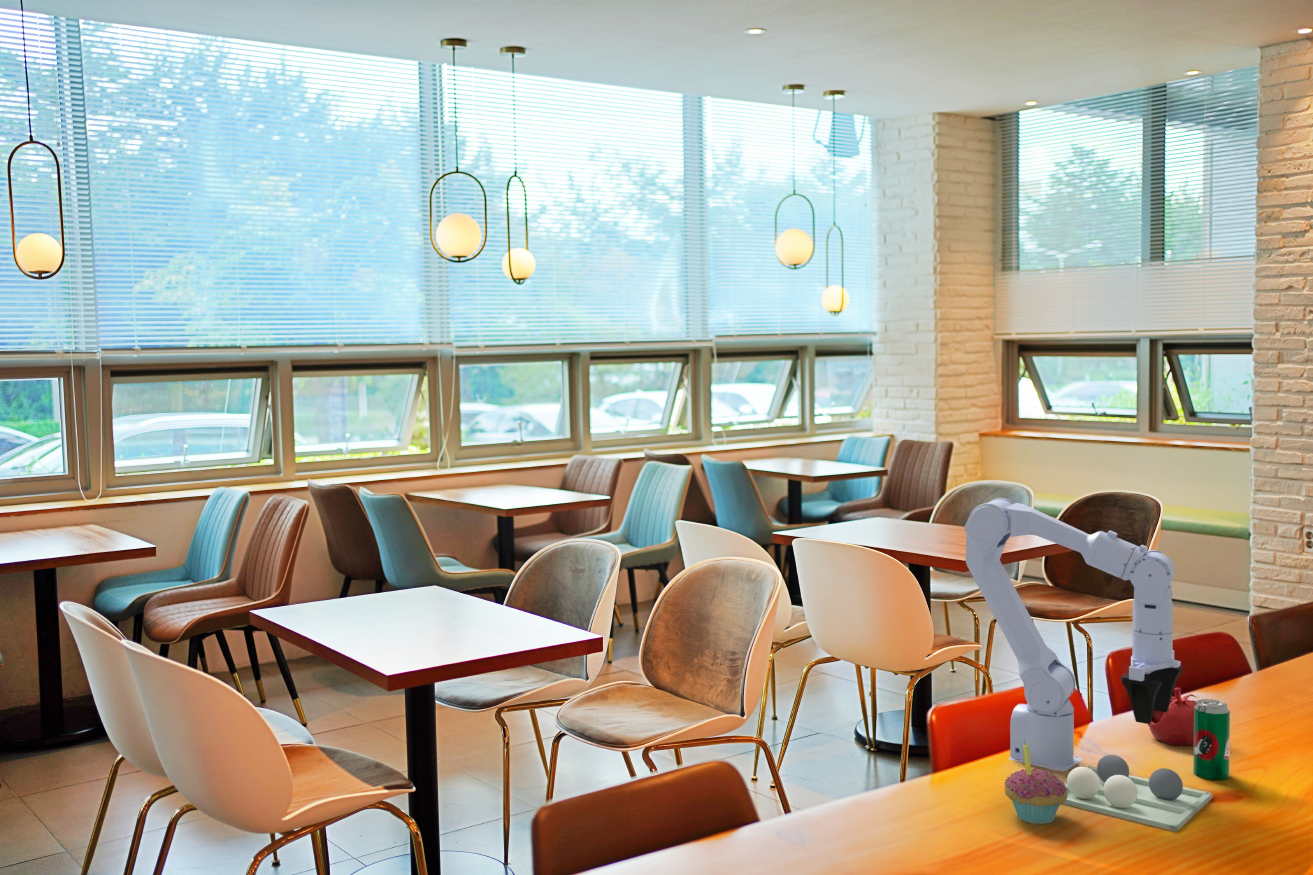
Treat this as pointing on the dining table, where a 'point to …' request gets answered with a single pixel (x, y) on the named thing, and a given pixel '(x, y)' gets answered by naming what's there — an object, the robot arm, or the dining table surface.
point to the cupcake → (1035, 793)
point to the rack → (1146, 805)
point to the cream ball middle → (1120, 791)
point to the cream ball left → (1083, 782)
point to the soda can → (1211, 740)
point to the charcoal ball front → (1165, 784)
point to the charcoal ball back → (1112, 767)
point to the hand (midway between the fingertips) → (1151, 716)
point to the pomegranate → (1175, 721)
